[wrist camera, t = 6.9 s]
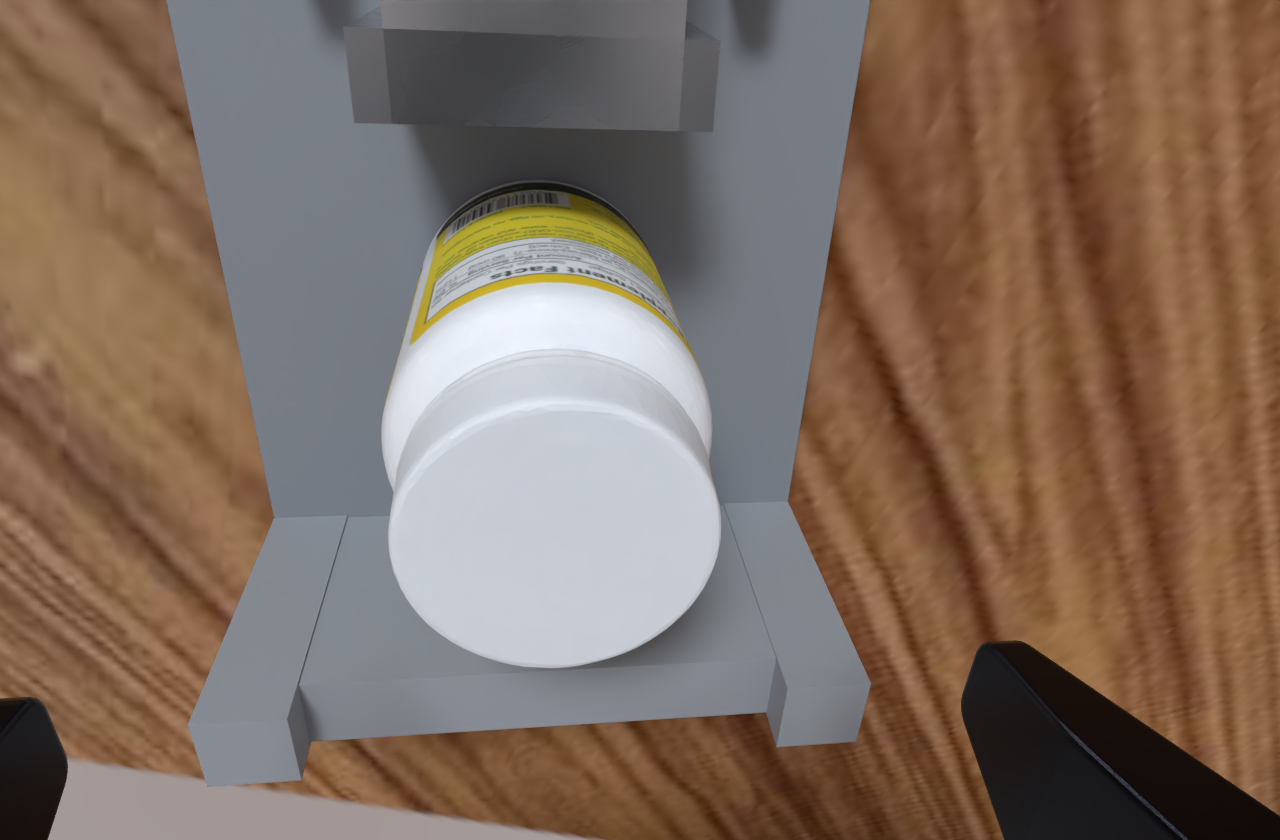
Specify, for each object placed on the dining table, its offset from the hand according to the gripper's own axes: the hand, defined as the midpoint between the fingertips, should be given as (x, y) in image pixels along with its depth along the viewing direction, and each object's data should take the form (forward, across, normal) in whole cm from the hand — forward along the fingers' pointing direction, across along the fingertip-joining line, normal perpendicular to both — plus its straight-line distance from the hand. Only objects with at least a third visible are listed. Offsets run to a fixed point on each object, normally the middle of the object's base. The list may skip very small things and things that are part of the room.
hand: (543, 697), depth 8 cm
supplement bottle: (+11, 0, 0) cm, 11 cm away
